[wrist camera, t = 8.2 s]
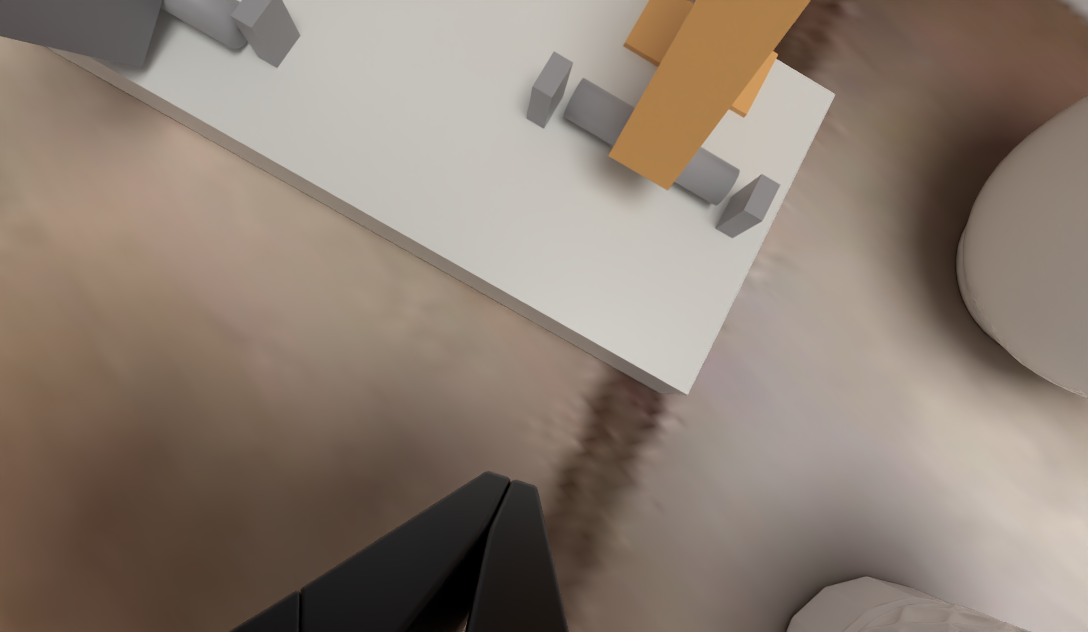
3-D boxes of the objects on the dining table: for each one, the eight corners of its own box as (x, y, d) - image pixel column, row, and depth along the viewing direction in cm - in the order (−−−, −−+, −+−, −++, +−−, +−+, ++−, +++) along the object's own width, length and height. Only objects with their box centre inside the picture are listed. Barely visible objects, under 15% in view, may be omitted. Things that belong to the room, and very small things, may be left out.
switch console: (660, 393, 18) (713, 396, 14) (33, 40, 17) (-107, -68, 13) (793, 128, 20) (875, 62, 16) (233, -206, 19) (165, -369, 15)
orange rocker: (698, 249, 15) (1052, -123, 8) (537, 155, 15) (736, -324, 7) (729, 158, 18) (1021, -192, 10) (591, 77, 18) (782, -344, 10)
